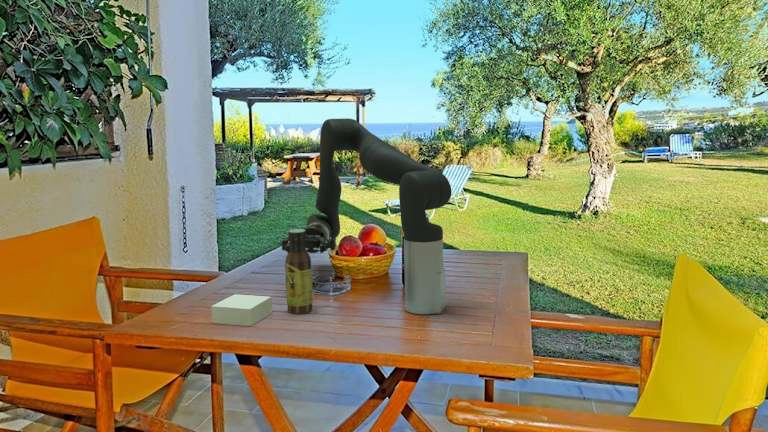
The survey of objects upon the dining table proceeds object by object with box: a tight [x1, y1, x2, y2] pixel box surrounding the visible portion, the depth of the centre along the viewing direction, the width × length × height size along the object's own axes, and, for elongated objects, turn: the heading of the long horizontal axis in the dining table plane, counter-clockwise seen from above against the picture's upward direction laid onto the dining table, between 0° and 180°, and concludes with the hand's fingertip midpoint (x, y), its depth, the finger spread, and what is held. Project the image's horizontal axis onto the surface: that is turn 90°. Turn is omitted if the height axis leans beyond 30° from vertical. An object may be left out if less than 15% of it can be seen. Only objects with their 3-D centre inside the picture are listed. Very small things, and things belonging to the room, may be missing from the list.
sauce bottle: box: [284, 228, 314, 315], centre depth 141 cm, size 6×6×20 cm
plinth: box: [210, 293, 273, 327], centre depth 138 cm, size 10×10×4 cm
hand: (304, 249), depth 151 cm, fingers open, 8 cm apart
